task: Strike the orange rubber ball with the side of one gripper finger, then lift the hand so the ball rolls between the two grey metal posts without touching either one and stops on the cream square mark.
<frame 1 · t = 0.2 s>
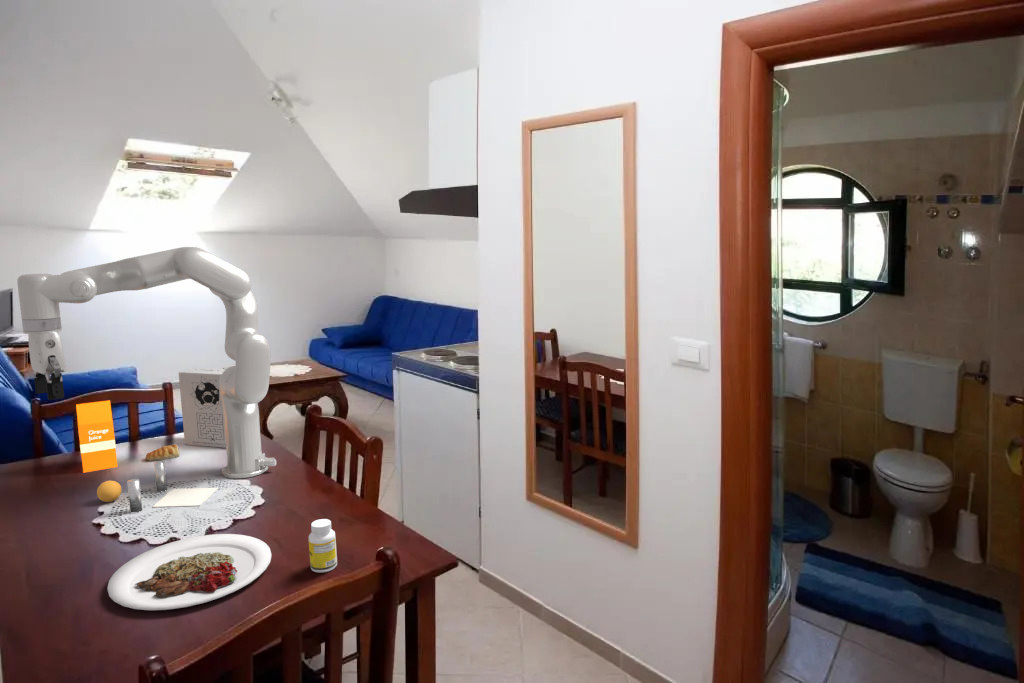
hand: (50, 395, 156), 31 cm above the table, tool pointing down, fingers open, 9 cm apart
ball: (109, 491, 169), on the table
supplement bottle: (323, 567, 135), on the table
cereal box: (219, 444, 217), on the table
orange juice: (100, 466, 196), on the table
post right: (161, 490, 176), on the table
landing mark: (186, 497, 171), on the table
plated food: (194, 576, 132), on the table
pastry: (165, 458, 204), on the table
post left: (136, 510, 163), on the table
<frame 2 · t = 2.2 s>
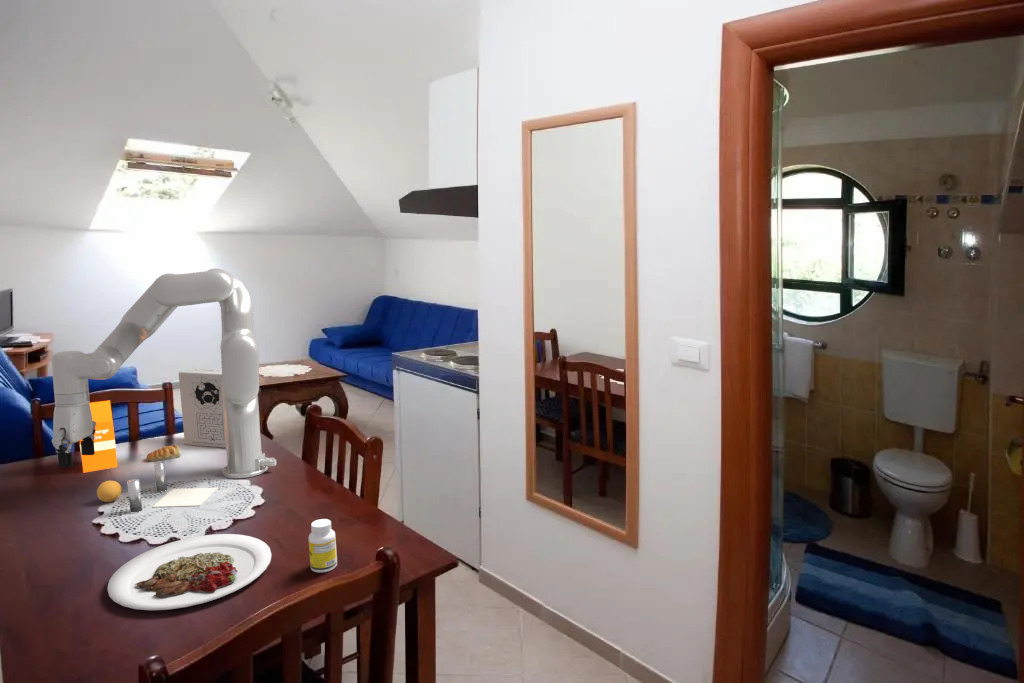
hand: (77, 460, 172), 10 cm above the table, tool pointing down, fingers open, 9 cm apart
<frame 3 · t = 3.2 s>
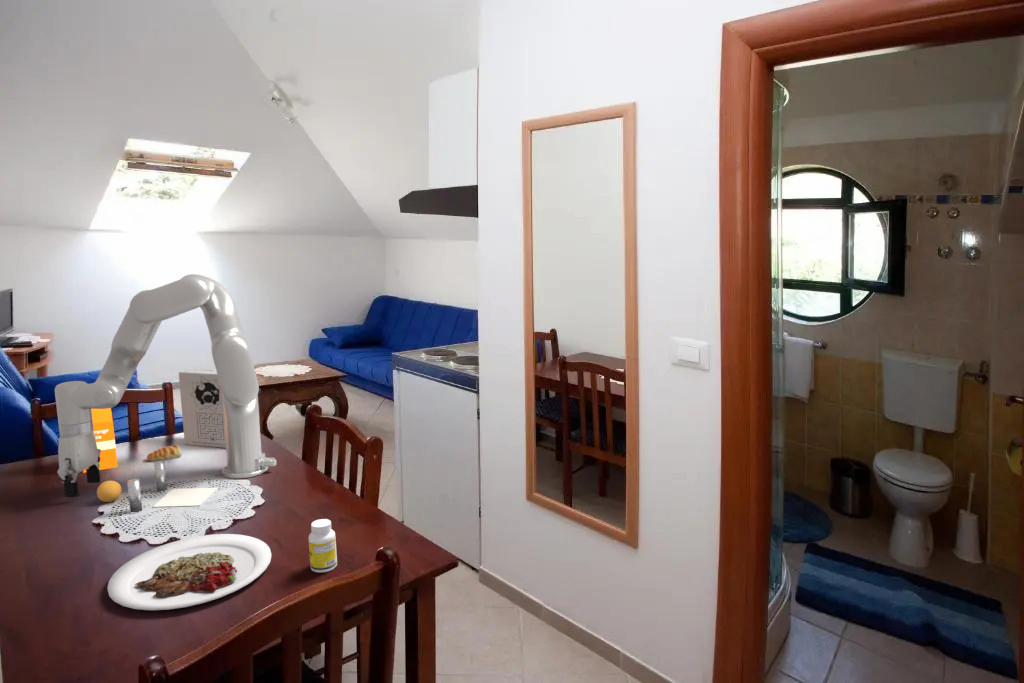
hand: (83, 489, 173), 2 cm above the table, tool pointing down, fingers open, 9 cm apart
nothing on the table moved.
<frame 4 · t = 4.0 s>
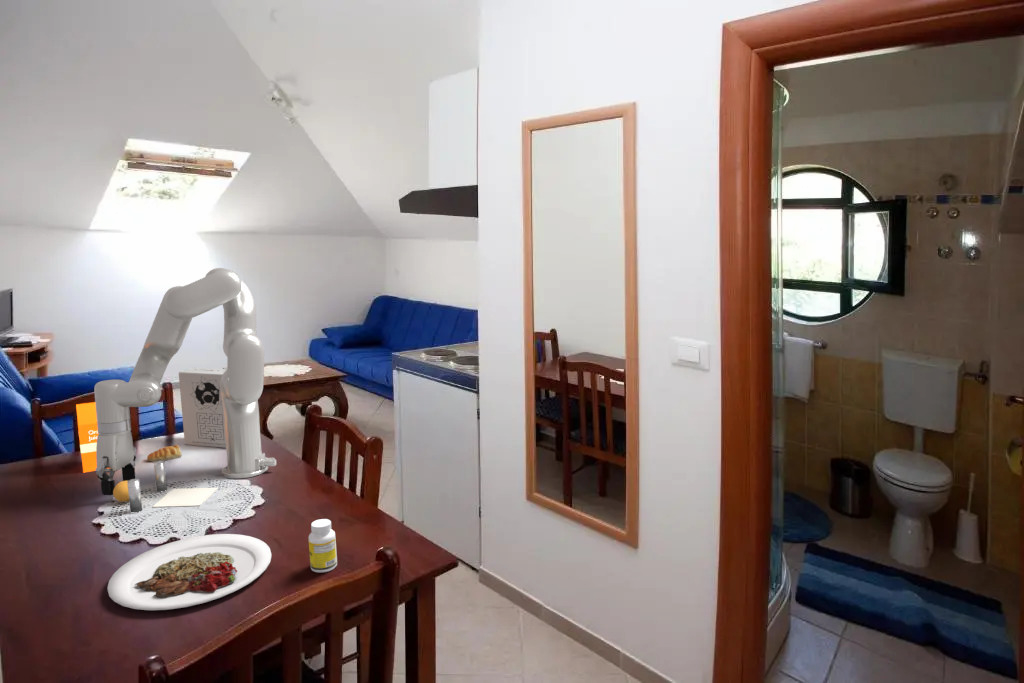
hand: (119, 487, 173), 2 cm above the table, tool pointing down, fingers open, 9 cm apart
ball: (125, 491, 169), on the table, touching gripper
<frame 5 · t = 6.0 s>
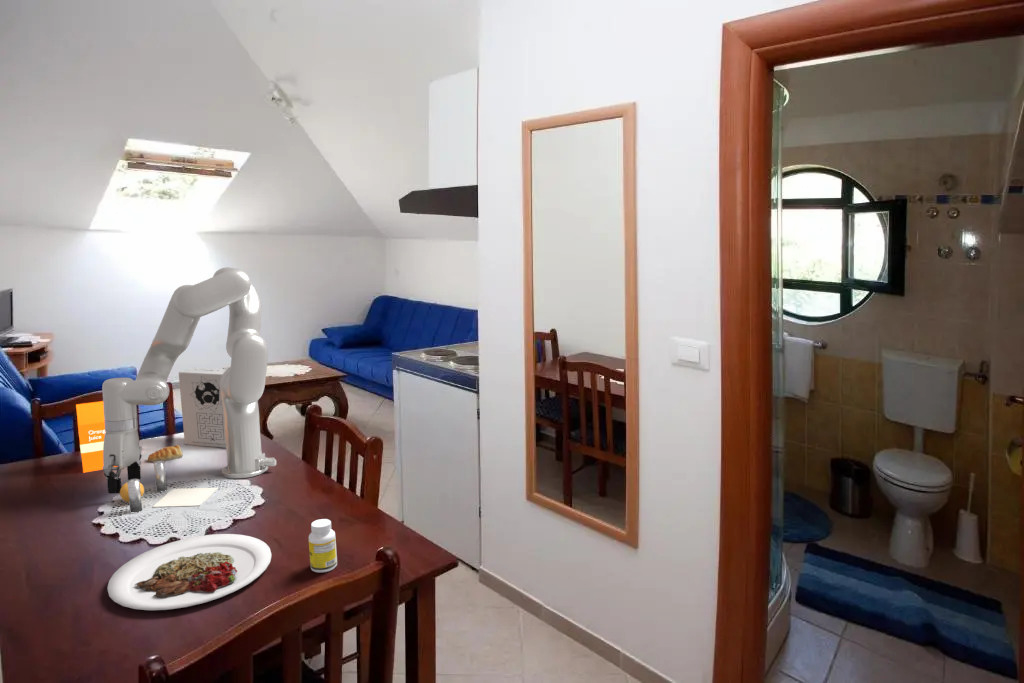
hand: (125, 486, 173), 2 cm above the table, tool pointing down, fingers open, 9 cm apart
ball: (132, 491, 169), on the table, touching gripper
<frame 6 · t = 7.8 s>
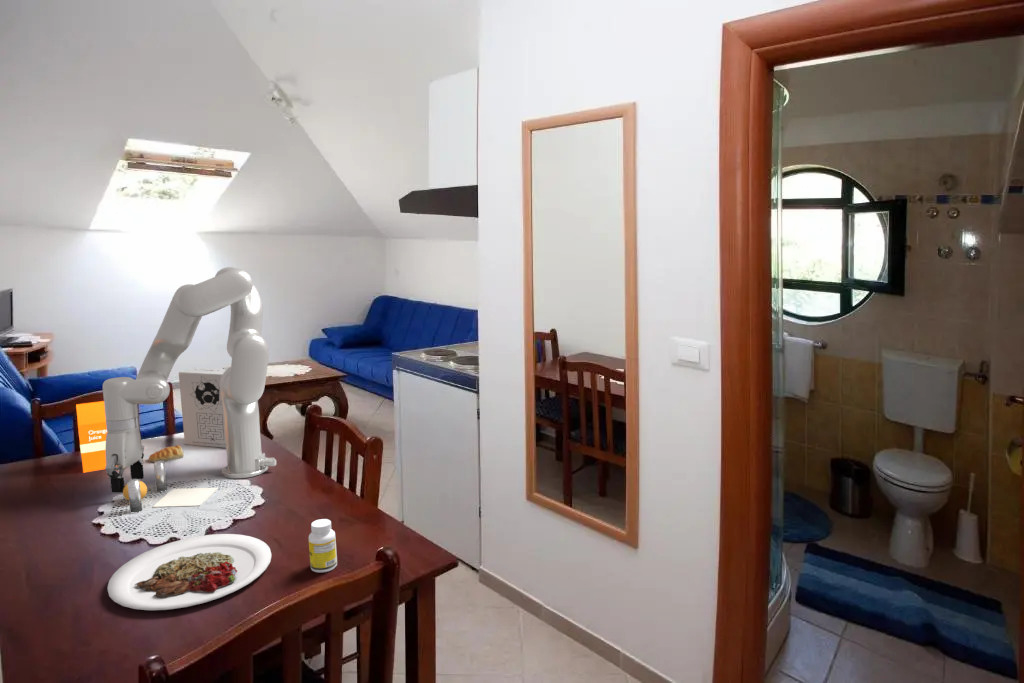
hand: (128, 485, 174), 2 cm above the table, tool pointing down, fingers open, 9 cm apart
ball: (135, 490, 169), on the table
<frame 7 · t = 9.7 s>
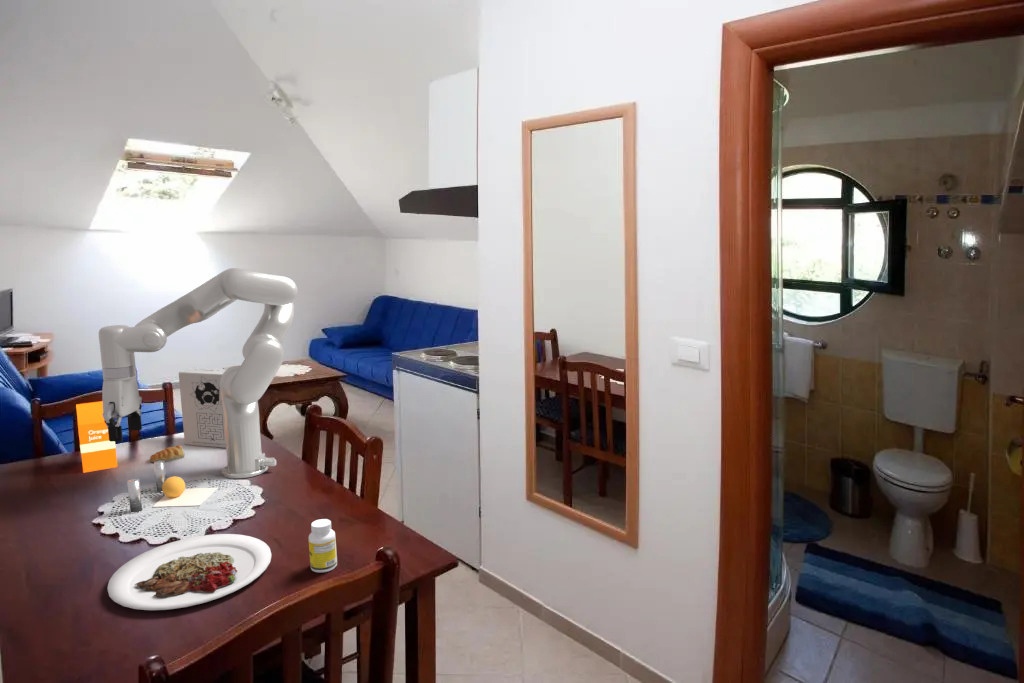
hand: (126, 435, 172), 16 cm above the table, tool pointing down, fingers open, 9 cm apart
ball: (173, 486, 171), on the table
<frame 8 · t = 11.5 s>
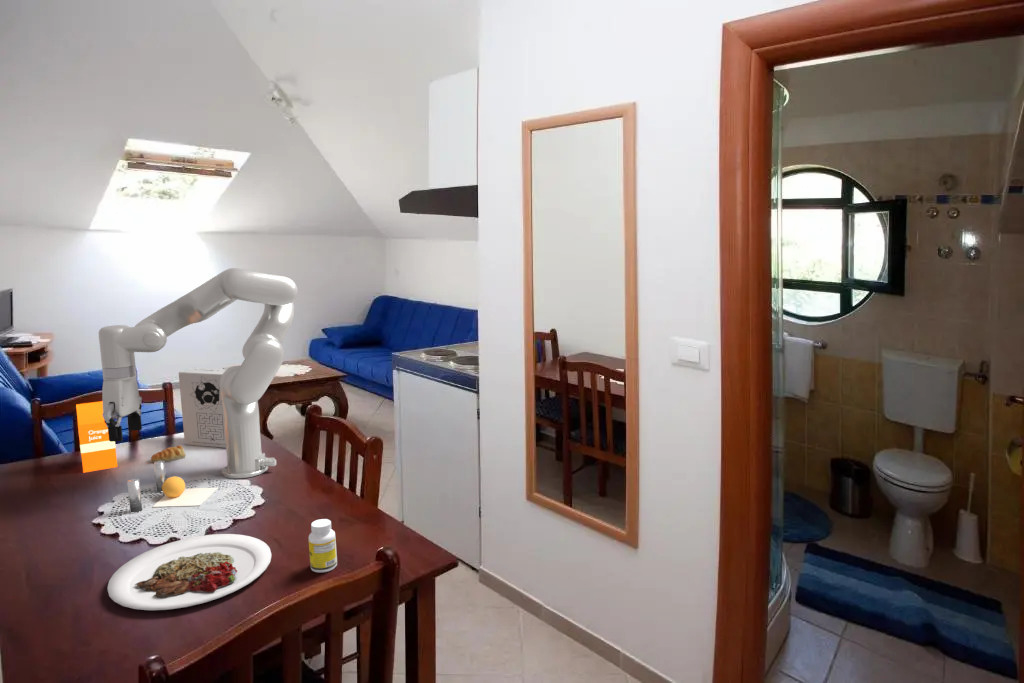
hand: (126, 435, 172), 16 cm above the table, tool pointing down, fingers open, 9 cm apart
at the end: ball 3.5 cm from the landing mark (horizontally); ball never touched post left; ball never touched post right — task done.
